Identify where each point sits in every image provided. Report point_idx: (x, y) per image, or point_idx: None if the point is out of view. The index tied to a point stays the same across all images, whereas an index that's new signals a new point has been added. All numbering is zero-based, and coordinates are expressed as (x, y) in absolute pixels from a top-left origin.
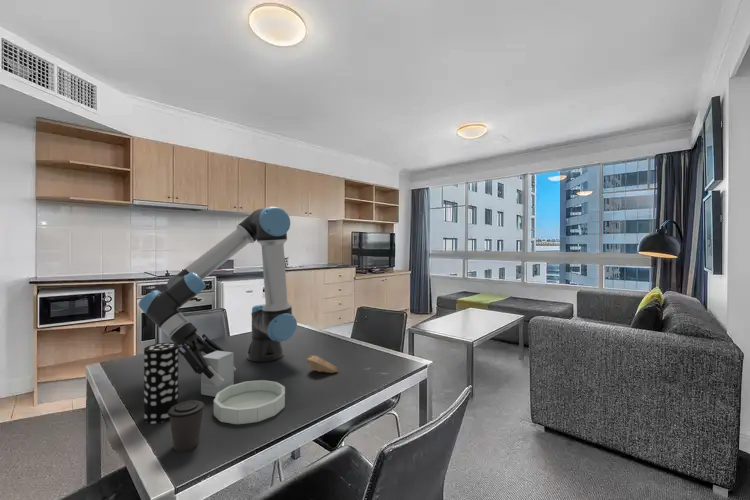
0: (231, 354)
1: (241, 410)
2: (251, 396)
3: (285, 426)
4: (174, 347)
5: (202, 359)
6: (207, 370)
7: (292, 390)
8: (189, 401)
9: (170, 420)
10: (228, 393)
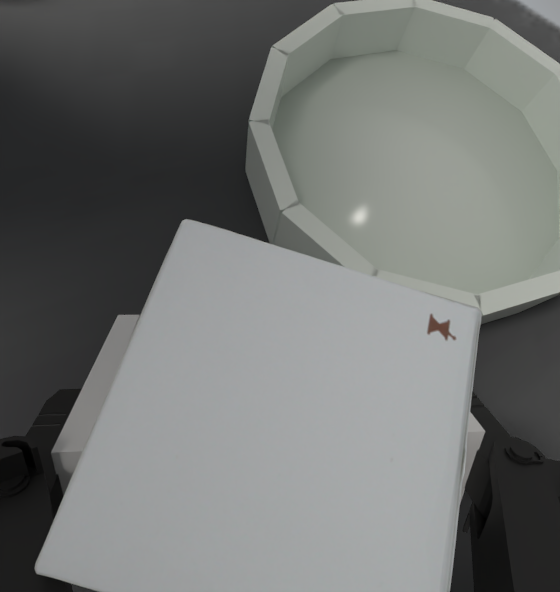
0: (228, 237)
1: None
2: (346, 184)
3: (521, 32)
4: None
5: (554, 554)
6: (496, 430)
7: (222, 44)
8: None
9: None
10: None
